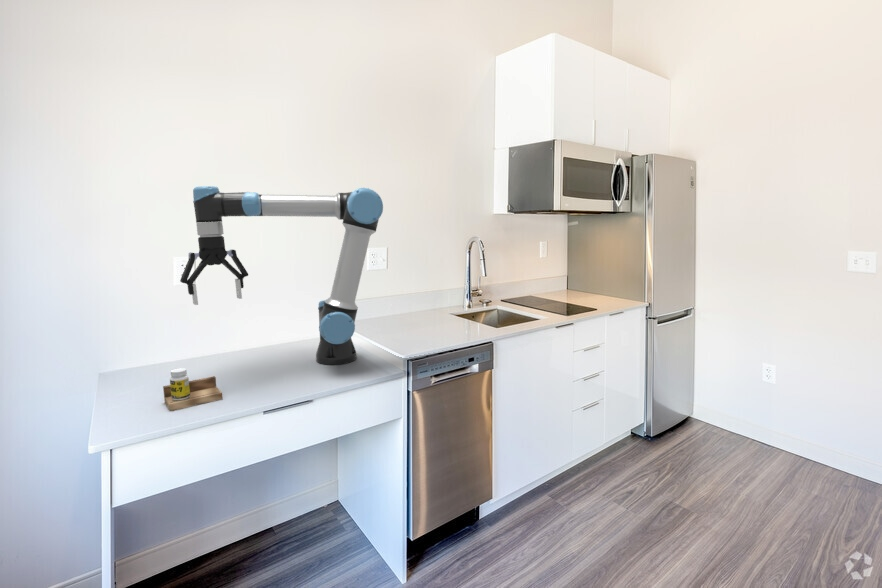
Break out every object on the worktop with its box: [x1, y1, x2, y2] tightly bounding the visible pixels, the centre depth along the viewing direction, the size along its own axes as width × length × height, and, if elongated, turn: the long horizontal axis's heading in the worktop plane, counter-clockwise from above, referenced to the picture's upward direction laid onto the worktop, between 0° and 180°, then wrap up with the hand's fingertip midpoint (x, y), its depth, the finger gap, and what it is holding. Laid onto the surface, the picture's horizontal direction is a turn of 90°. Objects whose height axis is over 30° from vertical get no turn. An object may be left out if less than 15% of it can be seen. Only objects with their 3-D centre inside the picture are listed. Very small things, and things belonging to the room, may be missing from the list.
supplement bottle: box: [169, 367, 190, 400], centre depth 137 cm, size 5×5×8 cm
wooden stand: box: [162, 376, 224, 412], centre depth 141 cm, size 14×8×5 cm, turn 129°
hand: (218, 301), depth 155 cm, fingers open, 13 cm apart
